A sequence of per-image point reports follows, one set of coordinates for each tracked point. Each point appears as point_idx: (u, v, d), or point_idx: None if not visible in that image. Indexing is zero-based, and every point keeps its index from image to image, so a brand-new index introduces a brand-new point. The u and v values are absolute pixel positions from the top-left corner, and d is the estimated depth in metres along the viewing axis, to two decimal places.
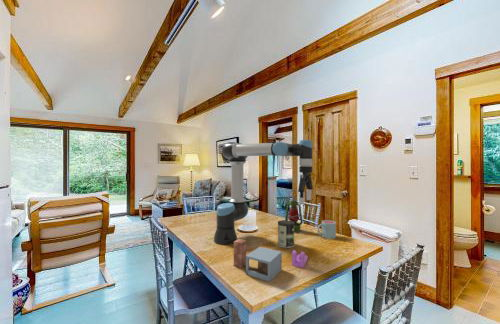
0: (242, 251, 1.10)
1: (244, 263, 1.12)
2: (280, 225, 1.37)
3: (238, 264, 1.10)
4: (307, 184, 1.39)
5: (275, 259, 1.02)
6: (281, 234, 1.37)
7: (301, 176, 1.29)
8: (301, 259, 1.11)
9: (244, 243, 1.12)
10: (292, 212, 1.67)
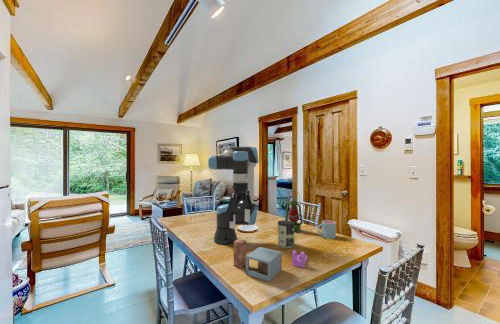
0: (242, 251, 1.10)
1: (244, 263, 1.12)
2: (280, 225, 1.37)
3: (238, 264, 1.10)
4: (244, 203, 1.17)
5: (275, 259, 1.02)
6: (281, 234, 1.37)
7: (231, 195, 1.07)
8: (301, 259, 1.11)
9: (244, 243, 1.12)
10: (292, 212, 1.67)
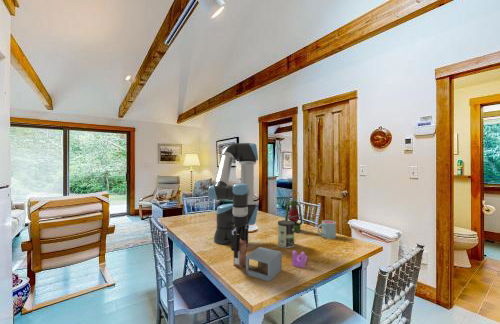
0: (242, 251, 1.10)
1: (244, 263, 1.12)
2: (280, 225, 1.37)
3: None
4: (241, 238, 1.14)
5: (275, 259, 1.02)
6: (281, 234, 1.37)
7: (232, 233, 1.07)
8: (301, 259, 1.11)
9: (244, 243, 1.12)
10: (292, 212, 1.67)
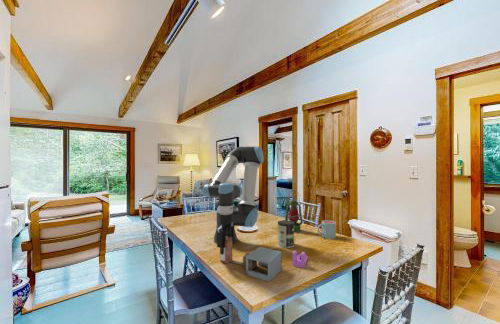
0: (228, 247, 1.15)
1: (230, 259, 1.17)
2: (280, 225, 1.37)
3: None
4: (227, 235, 1.19)
5: (275, 259, 1.02)
6: (281, 234, 1.37)
7: (217, 231, 1.12)
8: (302, 259, 1.11)
9: (230, 240, 1.16)
10: (292, 212, 1.67)
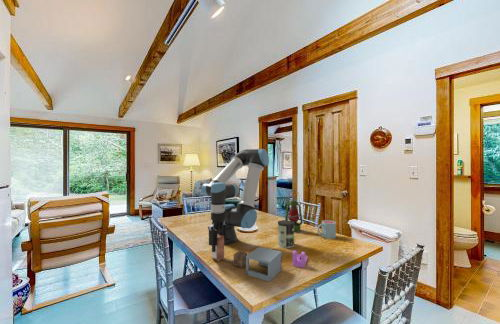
0: (220, 245, 1.17)
1: (222, 257, 1.19)
2: (280, 225, 1.37)
3: (216, 258, 1.17)
4: (219, 234, 1.22)
5: (275, 259, 1.02)
6: (281, 234, 1.37)
7: (209, 229, 1.14)
8: (301, 259, 1.11)
9: (222, 238, 1.19)
10: (292, 212, 1.67)
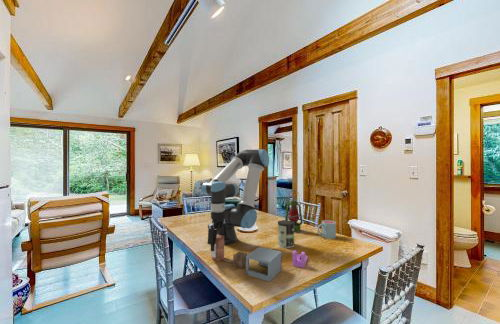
0: (219, 245, 1.17)
1: (222, 257, 1.19)
2: (280, 225, 1.37)
3: (215, 258, 1.17)
4: (220, 232, 1.22)
5: (275, 259, 1.02)
6: (281, 234, 1.37)
7: (209, 227, 1.14)
8: (301, 259, 1.11)
9: (222, 238, 1.19)
10: (292, 212, 1.67)
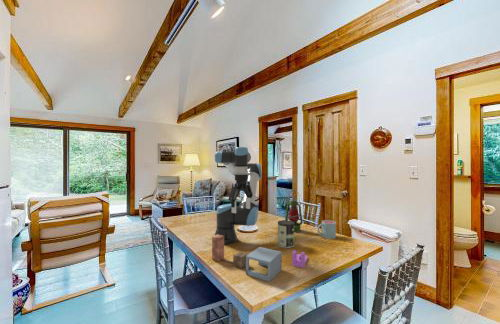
0: (219, 245, 1.17)
1: (222, 257, 1.19)
2: (280, 225, 1.37)
3: (215, 258, 1.17)
4: (245, 192, 1.34)
5: (275, 259, 1.02)
6: (281, 234, 1.37)
7: (233, 185, 1.25)
8: (301, 259, 1.11)
9: (222, 238, 1.19)
10: (292, 212, 1.67)
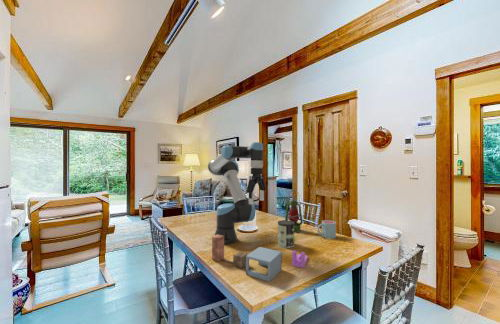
0: (219, 245, 1.17)
1: (222, 257, 1.19)
2: (280, 225, 1.37)
3: (215, 258, 1.17)
4: (259, 185, 1.43)
5: (275, 259, 1.02)
6: (281, 234, 1.37)
7: (250, 177, 1.33)
8: (301, 259, 1.10)
9: (222, 238, 1.19)
10: (292, 212, 1.67)
